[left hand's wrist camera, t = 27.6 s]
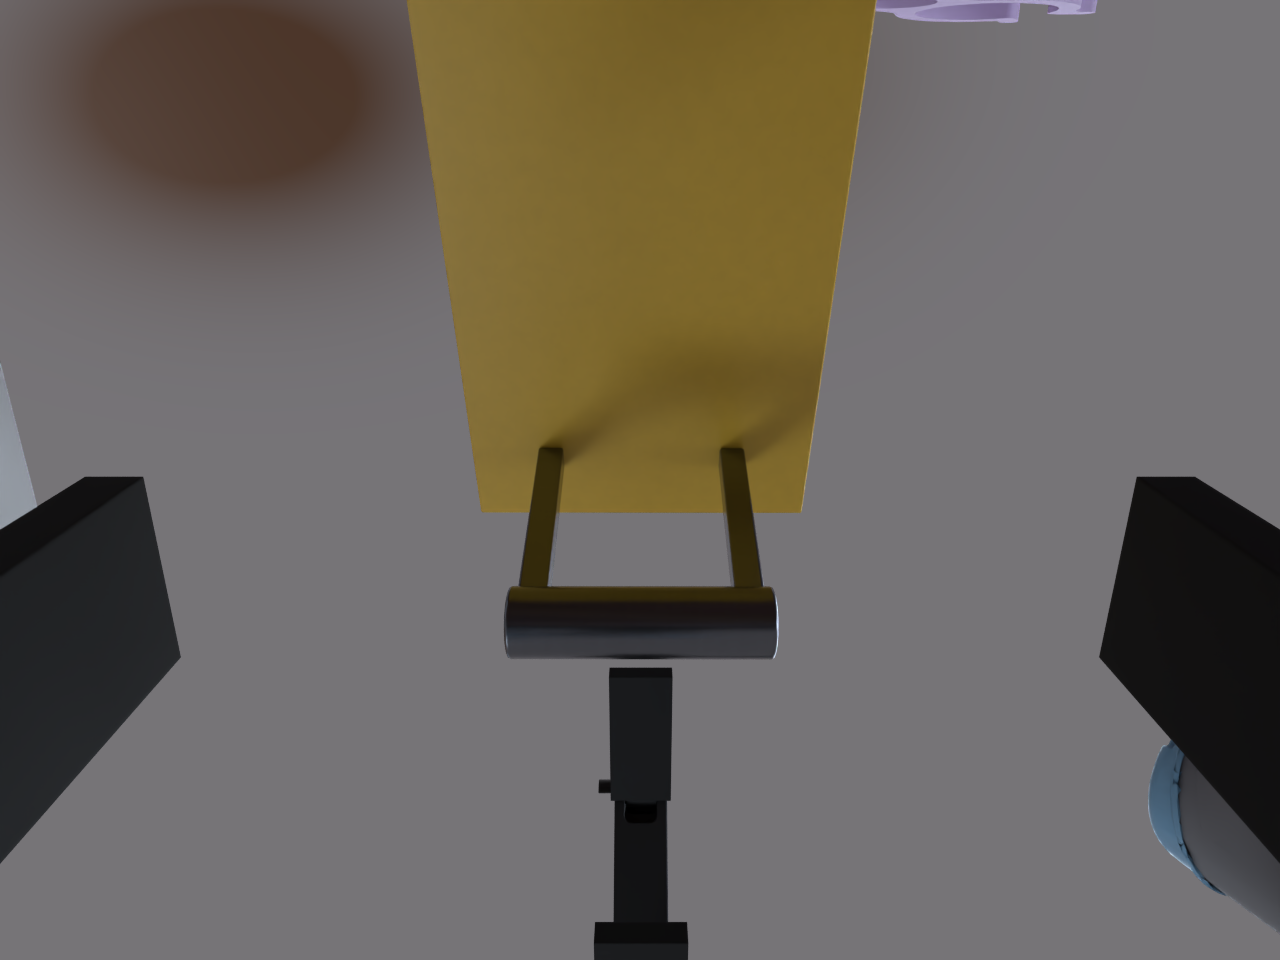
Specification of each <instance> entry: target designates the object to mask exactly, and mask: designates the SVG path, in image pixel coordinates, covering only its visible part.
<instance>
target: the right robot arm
mask: <svg viewBox="0 0 1280 960" xmlns="http://www.w3.org/2000/svg"><path fill="white" fill-rule="evenodd" d="M609 706H610V776H611V780H599V793H611V801H615V830H614V832H615V833H614V922H595V934H594V960H688V931H687V922H668V872H667V871H668V869H667V801H670V800H671V740H672V668H610V671H609ZM1148 807H1149V816H1150V820H1151V824H1152V827H1153V830H1154V832H1155V834H1156V836H1157V838H1158V840H1159V841H1160V843H1161V844H1162V845H1163V846H1164V847H1165V849H1166V850H1167V851H1168V852H1169V853H1170V854H1171V855H1172V856H1173V857H1175V858H1176V859H1177V860H1179V861H1180V862H1181V863H1182V864H1184V865H1185V866H1186V867H1188V868H1189V869H1190V870H1191V871H1193V873H1194V874H1195V875H1196V877H1197V878H1198V879H1199V880H1200V881H1201V882H1203V883H1204V884H1205V885H1206V886H1207V887H1209V888H1210V889H1212V890H1214V891H1215V892H1217V893H1219V894H1222V895H1226V896H1228V897H1230V898H1231V899H1233V900H1234V901H1235V902H1237V903H1238V904H1239V905H1241V906H1242V907H1244V908H1245V909H1246V910H1248V911H1249V912H1250V913H1252V914H1253V915H1254V916H1256V917H1257V918H1259V919H1260V920H1261V921H1263V922H1264V923H1265V924H1267V925H1268V926H1269V927H1271V928H1272V929H1274V930H1275V931H1276V932H1278V933H1279V934H1280V863H1279V862H1278V861H1277V860H1276V859H1275V858H1274V856H1273V855H1272V854H1271V853H1270V852H1269V851H1268V850H1267V848H1266V847H1265V846H1264V845H1263V844H1262V843H1261V842H1260V840H1259V839H1258V838H1257V837H1256V836H1255V835H1254V834H1253V832H1252V831H1251V830H1250V829H1249V828H1248V827H1247V826H1246V824H1245V823H1244V822H1243V821H1242V820H1241V819H1240V818H1239V816H1238V815H1237V814H1236V813H1235V812H1234V811H1233V810H1232V808H1231V807H1230V806H1229V805H1228V804H1227V803H1226V802H1225V800H1224V799H1223V798H1222V797H1221V796H1220V795H1219V794H1218V792H1217V791H1216V790H1215V789H1214V788H1213V787H1212V786H1211V784H1210V783H1209V782H1208V781H1207V780H1206V779H1205V778H1204V776H1203V775H1202V774H1201V773H1200V772H1199V771H1198V770H1197V768H1196V767H1195V766H1194V765H1193V764H1192V763H1191V762H1190V760H1189V759H1188V758H1187V757H1186V756H1185V755H1184V754H1183V752H1182V751H1181V750H1180V749H1179V748H1178V747H1177V746H1176V744H1175V743H1174V742H1173V741H1172V740H1171V741H1170V743H1169V745H1167V746H1166V745H1164V746H1162V748H1161V750H1160V752H1159V754H1158V757H1157V759H1156V762H1155V765H1154V768H1153V771H1152V775H1151V780H1150V785H1149V795H1148Z"/></svg>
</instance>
